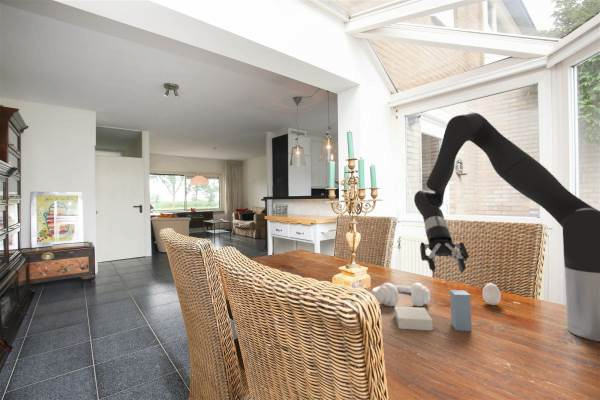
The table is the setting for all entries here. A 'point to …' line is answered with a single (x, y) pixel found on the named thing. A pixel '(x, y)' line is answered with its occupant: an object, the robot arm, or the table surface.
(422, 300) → the headphones
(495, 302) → the egg
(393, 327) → the table surface
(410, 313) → the base
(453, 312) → the pillar
